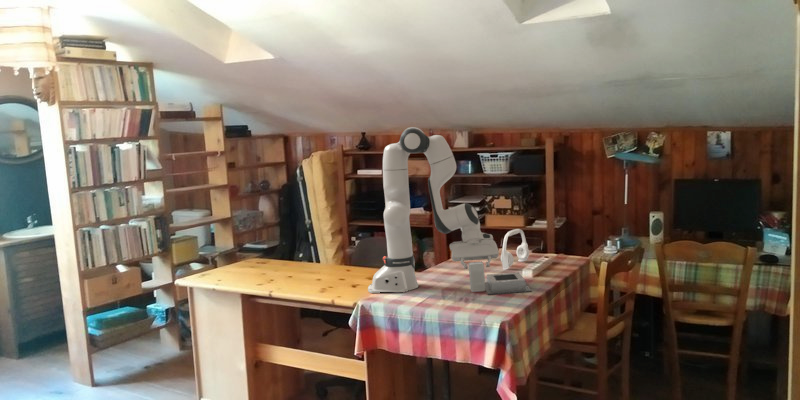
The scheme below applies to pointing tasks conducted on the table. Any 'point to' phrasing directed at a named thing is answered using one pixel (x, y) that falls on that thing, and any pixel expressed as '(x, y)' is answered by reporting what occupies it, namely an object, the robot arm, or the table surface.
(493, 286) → the grey square stand
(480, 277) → the skincare box
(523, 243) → the headset
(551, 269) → the table surface
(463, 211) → the robot arm
